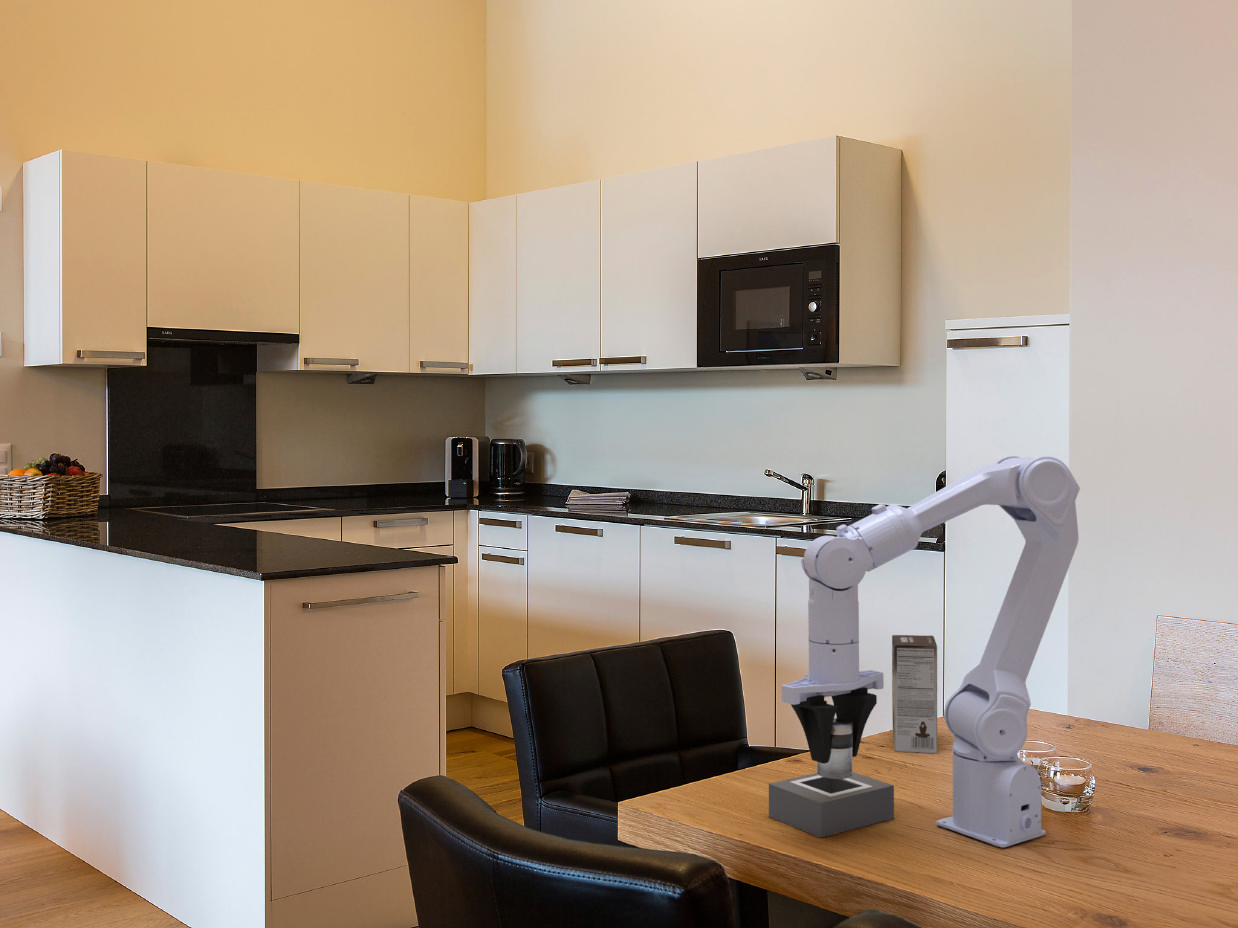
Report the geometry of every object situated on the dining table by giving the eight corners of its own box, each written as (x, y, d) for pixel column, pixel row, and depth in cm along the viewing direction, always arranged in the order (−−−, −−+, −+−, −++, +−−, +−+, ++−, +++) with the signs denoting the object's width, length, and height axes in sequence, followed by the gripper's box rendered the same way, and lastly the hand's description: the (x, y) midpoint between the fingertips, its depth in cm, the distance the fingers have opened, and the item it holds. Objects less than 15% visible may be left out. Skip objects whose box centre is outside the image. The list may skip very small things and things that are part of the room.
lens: (860, 775, 124) (860, 723, 124) (833, 780, 122) (834, 727, 122) (835, 767, 127) (836, 715, 127) (809, 771, 125) (809, 719, 125)
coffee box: (891, 736, 169) (891, 633, 169) (933, 738, 167) (933, 634, 167) (894, 751, 160) (893, 643, 160) (939, 754, 158) (938, 644, 158)
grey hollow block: (894, 818, 130) (893, 784, 130) (821, 837, 124) (820, 802, 124) (840, 798, 138) (840, 767, 138) (768, 816, 131) (768, 782, 131)
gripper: (852, 629, 132) (853, 740, 132) (763, 641, 124) (763, 760, 124) (897, 637, 126) (897, 753, 126) (806, 650, 118) (807, 774, 118)
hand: (834, 757), depth 125 cm, fingers closed on lens, 4 cm apart
